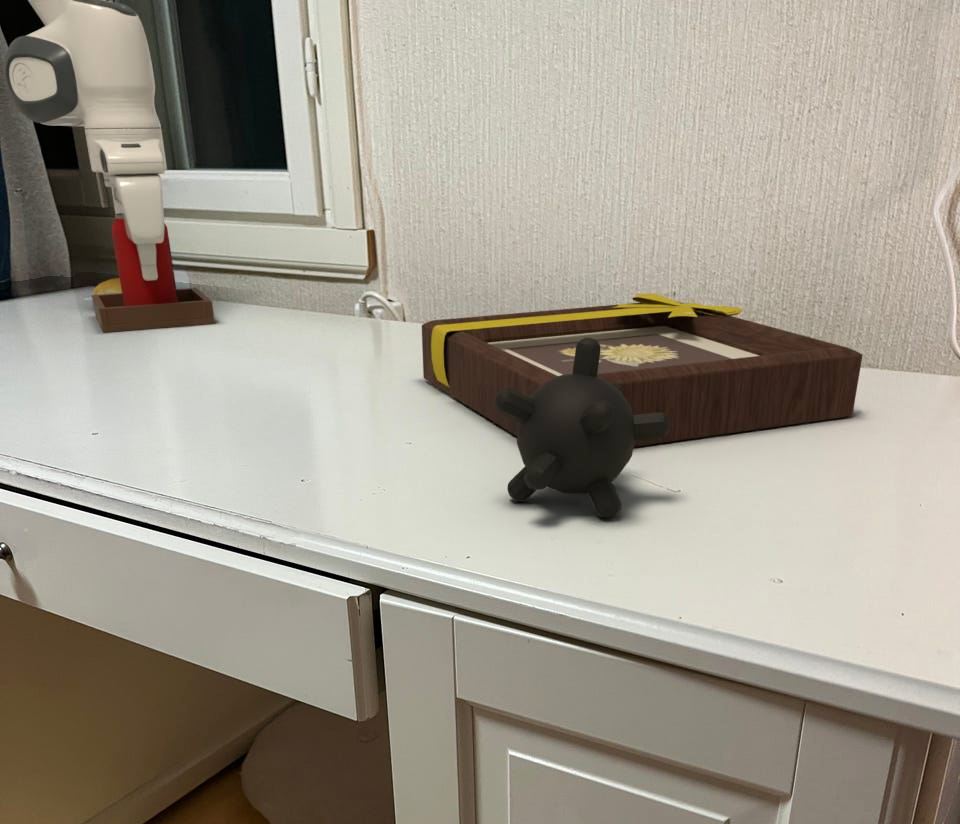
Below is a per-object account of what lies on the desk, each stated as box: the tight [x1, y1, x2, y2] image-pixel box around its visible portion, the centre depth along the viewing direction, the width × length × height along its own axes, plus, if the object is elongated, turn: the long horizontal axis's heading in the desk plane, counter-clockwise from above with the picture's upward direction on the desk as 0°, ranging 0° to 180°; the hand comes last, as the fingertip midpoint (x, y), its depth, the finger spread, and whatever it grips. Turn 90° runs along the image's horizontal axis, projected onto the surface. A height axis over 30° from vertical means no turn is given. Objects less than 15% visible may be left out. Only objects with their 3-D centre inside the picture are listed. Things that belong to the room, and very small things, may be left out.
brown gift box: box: [421, 293, 863, 448], centre depth 88 cm, size 28×7×30 cm
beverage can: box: [111, 213, 178, 306], centre depth 126 cm, size 7×7×12 cm
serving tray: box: [91, 287, 216, 333], centre depth 128 cm, size 14×13×3 cm
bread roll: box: [92, 277, 122, 303], centre depth 138 cm, size 8×9×4 cm
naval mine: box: [494, 338, 670, 519], centre depth 63 cm, size 11×11×12 cm
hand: (146, 275), depth 126 cm, fingers closed on beverage can, 7 cm apart
